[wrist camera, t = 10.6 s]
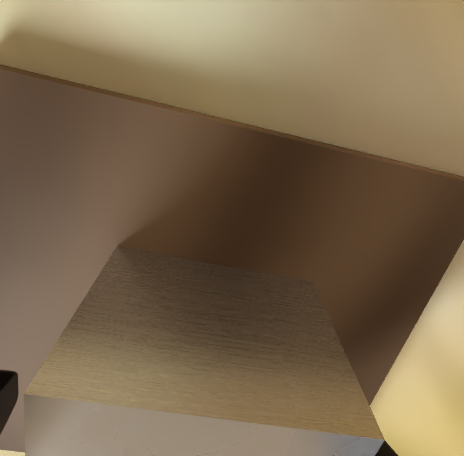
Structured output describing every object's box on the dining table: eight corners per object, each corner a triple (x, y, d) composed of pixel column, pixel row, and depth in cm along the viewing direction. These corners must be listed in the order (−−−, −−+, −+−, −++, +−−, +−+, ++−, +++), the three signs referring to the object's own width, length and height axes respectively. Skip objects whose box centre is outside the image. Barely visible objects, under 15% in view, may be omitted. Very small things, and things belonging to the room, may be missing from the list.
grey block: (312, 281, 10) (384, 439, 6) (262, 412, 13) (286, 599, 8) (116, 245, 10) (23, 394, 5) (102, 391, 12) (29, 583, 7)
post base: (468, 178, 10) (755, 290, 5) (318, 462, 16) (370, 668, 10) (-17, 60, 9) (-443, 24, 3) (3, 424, 14) (-139, 646, 8)
